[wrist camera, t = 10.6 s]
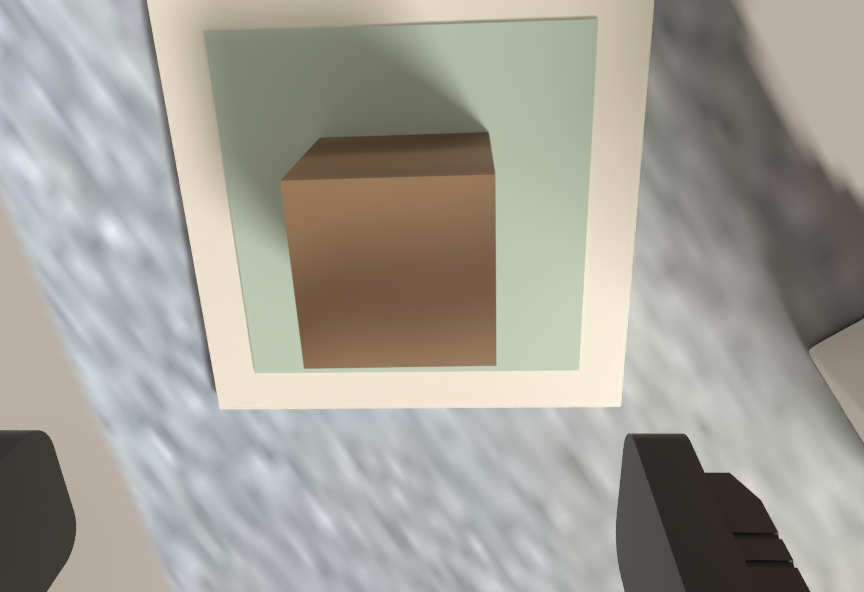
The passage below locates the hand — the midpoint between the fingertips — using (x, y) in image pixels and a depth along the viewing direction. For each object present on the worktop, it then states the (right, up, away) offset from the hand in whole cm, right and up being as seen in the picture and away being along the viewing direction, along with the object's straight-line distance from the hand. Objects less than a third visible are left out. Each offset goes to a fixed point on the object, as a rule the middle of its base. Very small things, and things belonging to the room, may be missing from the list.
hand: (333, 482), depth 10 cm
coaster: (+1, +5, +13) cm, 14 cm away
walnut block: (+1, +5, +12) cm, 13 cm away
